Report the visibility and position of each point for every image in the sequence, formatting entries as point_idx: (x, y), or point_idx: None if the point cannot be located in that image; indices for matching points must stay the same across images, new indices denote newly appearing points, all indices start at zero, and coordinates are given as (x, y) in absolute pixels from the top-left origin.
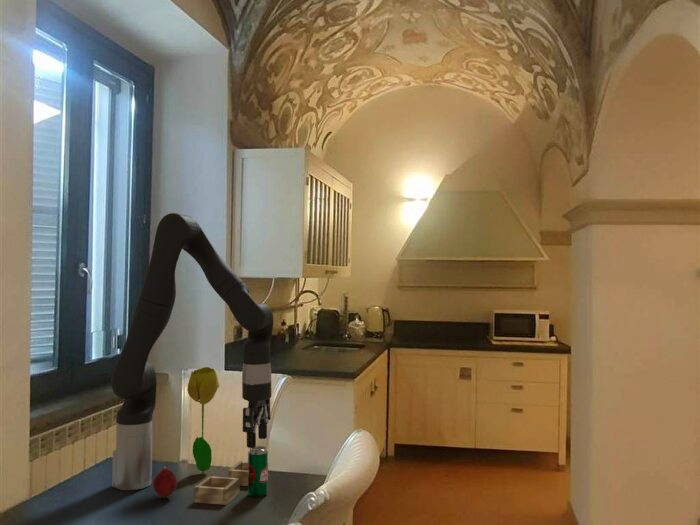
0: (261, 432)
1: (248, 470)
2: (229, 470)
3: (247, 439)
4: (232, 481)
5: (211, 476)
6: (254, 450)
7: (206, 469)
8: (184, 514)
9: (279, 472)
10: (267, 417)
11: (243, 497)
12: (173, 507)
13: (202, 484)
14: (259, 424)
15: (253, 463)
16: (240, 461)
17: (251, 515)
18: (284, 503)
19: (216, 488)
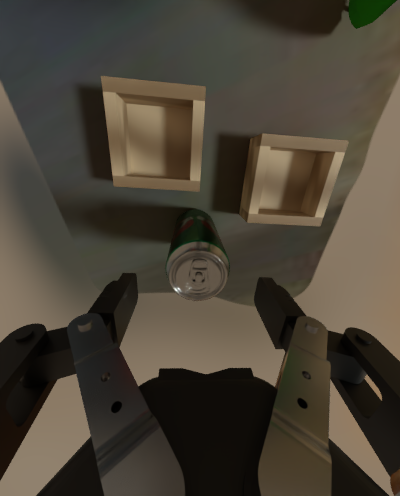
0: (265, 302)
1: (181, 227)
2: (261, 138)
3: (98, 299)
4: (172, 180)
5: (203, 96)
6: (169, 274)
7: (351, 18)
8: (39, 98)
9: (326, 233)
10: (334, 375)
11: (175, 204)
12: (66, 38)
13: (131, 94)
14: (291, 319)
15: (168, 253)
16: (344, 144)
17: (94, 246)
18: (162, 281)
19: (112, 155)
